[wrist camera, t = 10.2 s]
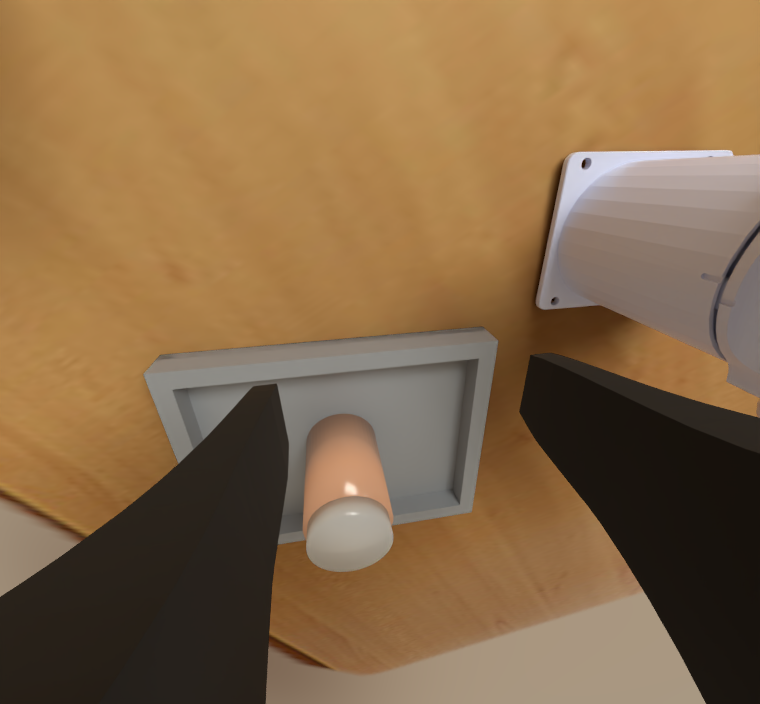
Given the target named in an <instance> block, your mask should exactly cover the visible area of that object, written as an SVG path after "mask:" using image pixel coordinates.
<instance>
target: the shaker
mask: <svg viewBox="0 0 760 704" xmlns="http://www.w3.org/2000/svg"><path fill="white" fill-rule="evenodd" d="M392 524H393V512H392V508H391V503H390V499H389V494H388V490H387V485H386V481H385V476H384V472H383V467H382V463H381V458H380V454H379V449H378V445H377V441H376V436H375V432H374V429H373V428H372V426H371V425H370V424H369V423H368V422H367V421H366V420H365V419H363V418H361V417H359V416H356V415H353V414H336V415H331V416H328V417H326V418H324V419H322V420H320V421H319V422H317V423H316V424H315V425H314V426H313V427H312V429H311V430H310V432H309V434H308V436H307V442H306V464H305V487H304V510H303V534H304V537H305V539H306V541H307V544H306V551H307V555H308V557H309V559H310V560H311V561H312V562H313V563H314V564H315V565H317V566H318V567H320V568H322V569H325V570H329V571H336V572H347V571H354V570H359V569H362V568H365V567H368V566H370V565H372V564H374V563H376V562H377V561H379V560H380V559H381V558H383V557H384V556H385V555H386V554H387V552H388V551H389V550H390V548H391V546H392V543H393V532H392Z"/></svg>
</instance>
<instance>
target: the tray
mask: <svg viewBox="0 0 760 704" xmlns="http://www.w3.org/2000/svg"><path fill="white" fill-rule="evenodd" d="M497 346H498V340H497V339H496V338H495V337H494V336H492V335H491V334H490V333H489V332H488V331H487V330H486V329H485V328H484V327H474V328H463V329H451V330H440V331H428V332H417V333H405V334H394V335H383V336H371V337H360V338H348V339H337V340H326V341H314V342H303V343H291V344H280V345H268V346H257V347H246V348H234V349H223V350H211V351H200V352H189V353H177V354H166V355H160V356H159V357H158V358H157V359H156V360H155V361H154V363H153V364H152V365H151V366H150V367H149V368H148V369H147V371H146V372H145V373H144V374H143V375H144V377H145V380H146V383H147V385H148V388H149V390H150V393H151V395H152V398H153V400H154V403H155V405H156V408H157V411H158V413H159V416H160V418H161V421H162V423H163V426H164V428H165V431H166V433H167V436H168V438H169V441H170V444H171V446H172V449H173V451H174V454H175V456H176V459H177V461H178V464H179V463H180V462H181V461H182V460H183V459H184V458H185V457H186V456H187V455H188V454H189V453H190V452H191V451H192V450H193V449H194V448H195V447H196V446H197V445H198V444H200V443H201V442H202V441H203V440H204V439H205V438H206V437H207V436H208V435H209V434H210V433H211V432H212V431H213V429H214V428H215V427H216V426H217V425H218V424H219V423H220V422H221V421H222V420H223V419H224V418H225V417H226V415H227V414H228V413H229V412H230V411H231V410H232V409H233V408H234V407H235V406H236V404H237V403H238V402H239V401H240V400H241V399H242V398H243V397H244V396H245V394H246V393H247V392H248V391H249V390H250V389H251V388H252V387H253V386H259V385H268V384H277V386H278V391H279V396H280V401H281V406H282V411H283V416H284V421H285V426H286V431H287V435H288V440H289V464H288V481H287V488H286V494H285V501H284V507H283V514H282V520H281V526H280V533H279V539H278V545H279V544H285V543H291V542H296V541H302V540H306V539H305V537H304V534H303V510H304V487H305V464H306V442H307V436H308V434H309V432H310V430H311V429H312V427H313V426H314V425H315V424H316V423H317V422H319V421H320V420H322V419H324V418H326V417H328V416H331V415H336V414H353V415H356V416H359V417H361V418H363V419H365V420H366V421H367V422H368V423H369V424H370V425H371V426H372V428H373V429H374V432H375V436H376V441H377V445H378V449H379V454H380V458H381V463H382V467H383V472H384V476H385V481H386V485H387V490H388V494H389V499H390V503H391V508H392V512H393V524H392V525H398V524H404V523H410V522H416V521H422V520H428V519H434V518H440V517H446V516H452V515H457V514H463V513H469V512H472V506H473V500H474V493H475V487H476V481H477V474H478V468H479V461H480V455H481V449H482V442H483V436H484V429H485V423H486V417H487V410H488V404H489V398H490V391H491V385H492V378H493V372H494V366H495V359H496V353H497Z"/></svg>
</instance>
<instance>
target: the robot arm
mask: <svg viewBox="0 0 760 704" xmlns="http://www.w3.org/2000/svg"><path fill="white" fill-rule="evenodd" d="M584 159H585V160H586V164H585V167H584V168H583V169H582V167H581V164H582V161H583V160H584ZM554 297H555V300H554V302H552V303H551V300H552V299H553V298H554ZM536 305H537V306H538V307H539V308H541V309H543V310H548V309H560V308H572V307H584V306H596V305H601V306H604V307H606V308H608V309H610V310H612V311H615V312H617V313H619V314H621V315H624V316H626V317H628V318H630V319H632V320H635V321H637V322H639V323H641V324H644V325H646V326H648V327H650V328H652V329H655V330H657V331H659V332H661V333H664V334H666V335H668V336H670V337H672V338H675V339H677V340H679V341H681V342H684V343H686V344H688V345H690V346H692V347H695V348H697V349H699V350H701V351H704V352H706V353H708V354H710V355H712V356H715V357H717V358H719V359H721V360H724V361H726V362H728V365H729V371H728V376H727V382H728V383H730V384H732V385H734V386H736V387H738V388H740V389H742V390H744V391H746V392H748V393H750V394H753V395H755V396H757V397H759V398H760V155H743V156H733V153H732V152H731V151H729V150H710V151H626V152H575V153H571V154H570V155H568V156H567V157H566V159H565V161H564V163H563V168H562V173H561V178H560V183H559V188H558V193H557V198H556V203H555V208H554V213H553V218H552V223H551V228H550V233H549V238H548V243H547V248H546V253H545V258H544V262H543V267H542V272H541V277H540V282H539V287H538V292H537V297H536ZM519 412H520V414H521V416H522V417H523V419H524V421H525V423H526V425H527V426H528V428H529V430H530V431H531V433H532V435H533V436H534V438H535V440H536V441H537V442H538V444H539V445H540V446H541V448H542V449H543V450H544V451H545V453H546V454H547V455H548V457H549V458H550V459H551V460H552V462H553V463H554V464H555V465H556V467H557V468H558V469H559V470H560V472H561V473H562V474H563V475H564V477H565V478H566V479H567V480H568V482H569V483H570V484H571V485H572V487H573V488H574V489H575V490H576V492H577V493H578V494H579V495H580V497H581V498H582V499H583V500H584V502H585V503H586V504H587V505H588V507H589V508H590V509H591V511H592V512H593V513H594V515H595V516H596V518H597V519H598V520H599V522H600V523H601V524H602V526H603V527H604V529H605V531H606V532H607V534H608V535H609V537H610V538H611V540H612V541H613V543H614V544H615V546H616V547H617V549H618V550H619V552H620V553H621V555H622V556H623V558H624V560H625V561H626V563H627V564H628V566H629V568H630V569H631V571H632V573H633V574H634V576H635V577H636V579H637V581H638V582H639V584H640V586H641V587H642V589H643V591H644V592H645V594H646V595H647V597H648V599H649V600H650V602H651V604H652V605H653V607H654V609H655V611H656V612H657V614H658V616H659V618H660V620H661V621H662V623H663V625H664V626H665V628H666V630H667V632H668V633H669V635H670V637H671V639H672V641H673V642H674V644H675V646H676V648H677V649H678V651H679V653H680V655H681V657H682V659H683V660H684V662H685V664H686V666H687V668H688V670H689V672H690V674H691V676H692V677H693V680H694V681H695V683H696V685H697V687H698V689H699V691H700V693H701V695H702V697H703V699H704V701H705V702H706V704H760V399H759V401H758V403H757V416H758V417H754V416H750V415H746V414H743V413H739V412H735V411H731V410H728V409H724V408H720V407H716V406H712V405H709V404H705V403H702V402H698V401H695V400H692V399H688V398H685V397H682V396H679V395H676V394H673V393H670V392H666V391H663V390H660V389H657V388H654V387H651V386H648V385H645V384H642V383H639V382H637V381H634V380H631V379H628V378H625V377H622V376H620V375H617V374H614V373H611V372H608V371H606V370H603V369H600V368H597V367H594V366H592V365H589V364H586V363H583V362H580V361H577V360H574V359H571V358H568V357H564V356H561V355H557V354H553V353H544V354H535V355H530V361H529V366H528V371H527V376H526V381H525V386H524V391H523V396H522V401H521V406H520V411H519ZM288 464H289V440H288V435H287V431H286V426H285V421H284V416H283V411H282V406H281V401H280V396H279V391H278V386H277V384H268V385H259V386H253V387H252V388H251V389H250V390H249V391H248V392H247V393H246V394H245V396H244V397H243V398H242V399H241V400H240V401H239V402H238V403H237V404H236V406H235V407H234V408H233V409H232V410H231V411H230V412H229V413H228V414H227V415H226V417H225V418H224V419H223V420H222V421H221V422H220V423H219V424H218V425H217V426H216V427H215V428H214V429H213V431H212V432H211V433H210V434H209V435H208V436H207V437H206V438H205V439H204V440H203V441H202V442H201V443H200V444H198V445H197V446H196V447H195V448H194V449H193V450H192V451H191V452H190V453H189V454H188V455H187V456H186V457H185V458H184V459H183V460H182V461H181V462H180V463H179V464H178V465H177V466H176V467H175V468H173V469H172V470H171V471H170V472H169V473H168V474H167V475H166V476H165V477H163V478H162V479H161V480H160V481H159V482H158V483H156V484H155V485H154V486H153V487H152V488H150V489H149V490H148V491H147V492H146V493H144V494H143V495H142V496H141V497H139V498H138V499H137V500H136V501H135V502H133V503H132V504H131V505H130V506H128V507H127V508H126V509H125V510H123V511H122V512H121V513H119V514H118V515H117V516H115V517H114V518H113V519H111V520H110V521H109V522H107V523H106V524H104V525H103V526H102V527H100V528H99V529H98V530H96V531H95V532H94V533H92V534H91V535H89V536H88V537H87V538H85V539H84V540H83V541H81V542H80V543H79V544H77V545H76V546H74V547H73V548H72V549H70V550H69V551H68V552H66V553H65V554H64V555H62V556H61V557H59V558H58V559H57V560H55V561H54V562H52V563H50V564H49V565H48V566H46V567H45V568H43V569H42V570H40V571H39V572H37V573H36V574H34V575H33V576H31V577H30V578H28V579H27V580H25V581H24V582H22V583H21V584H19V585H18V586H16V587H15V588H13V589H12V590H10V591H9V592H7V593H5V594H4V595H3V596H1V597H0V704H265V703H266V682H267V681H266V680H267V663H268V644H269V627H270V611H271V595H272V582H273V573H274V565H275V558H276V552H277V545H278V539H279V533H280V526H281V520H282V514H283V507H284V501H285V494H286V488H287V481H288Z"/></svg>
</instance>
